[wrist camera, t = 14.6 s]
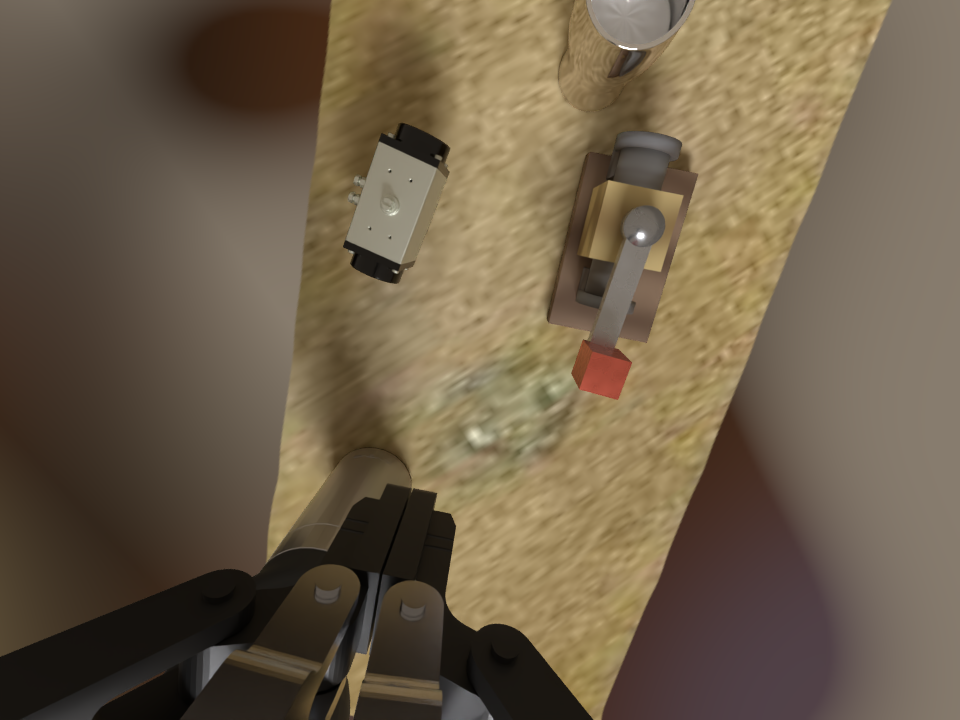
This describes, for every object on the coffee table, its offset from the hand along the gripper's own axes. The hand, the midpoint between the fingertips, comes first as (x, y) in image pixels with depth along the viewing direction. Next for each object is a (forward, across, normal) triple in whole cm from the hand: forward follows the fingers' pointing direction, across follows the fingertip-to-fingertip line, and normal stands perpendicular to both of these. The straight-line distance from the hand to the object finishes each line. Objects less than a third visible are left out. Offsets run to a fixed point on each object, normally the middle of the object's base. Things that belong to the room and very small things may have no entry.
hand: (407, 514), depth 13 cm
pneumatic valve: (+35, +8, -9) cm, 37 cm away
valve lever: (+25, -11, -5) cm, 28 cm away
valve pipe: (+35, -12, -10) cm, 38 cm away
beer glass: (+35, -6, -24) cm, 43 cm away
